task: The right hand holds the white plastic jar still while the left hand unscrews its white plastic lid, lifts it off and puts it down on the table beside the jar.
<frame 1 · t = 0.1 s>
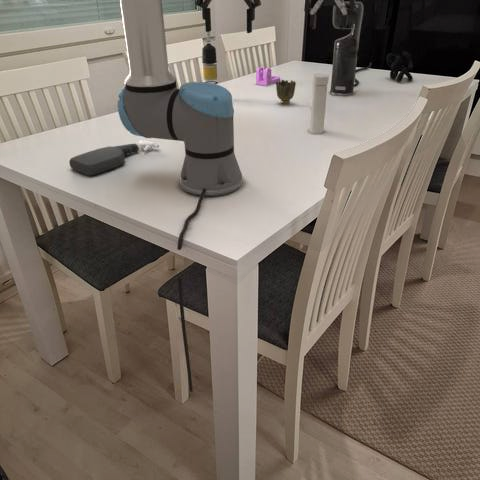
left hand: (228, 32, 139), 28 cm above the table, tool pointing down, fingers open, 13 cm apart
right hand: (327, 28, 131), 29 cm above the table, tool pointing down, fingers open, 8 cm apart
spray bottle: (117, 159, 125), on the table
squiggle: (399, 80, 200), on the table
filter: (211, 98, 179), on the table
cup: (285, 104, 170), on the table
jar: (316, 131, 143), on the table
lid: (320, 76, 134), point 17 cm above the table, screwed on, not yet turned
bracket: (269, 82, 201), on the table
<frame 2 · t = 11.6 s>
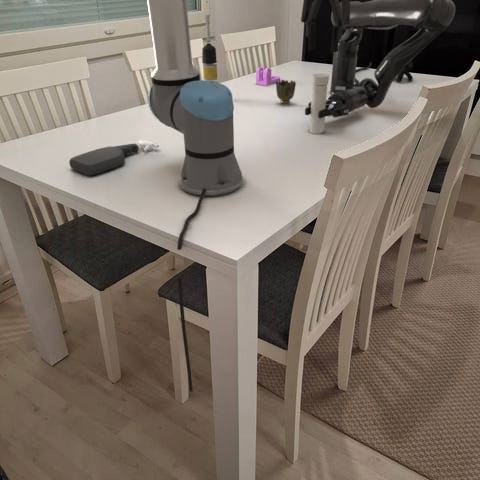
left hand: (322, 50, 130), 24 cm above the table, tool pointing down, fingers open, 7 cm apart
right hand: (312, 113, 138), 6 cm above the table, tool horizontal, fingers closed on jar, 4 cm apart
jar: (316, 131, 143), on the table, touching right hand
everything else where it was.
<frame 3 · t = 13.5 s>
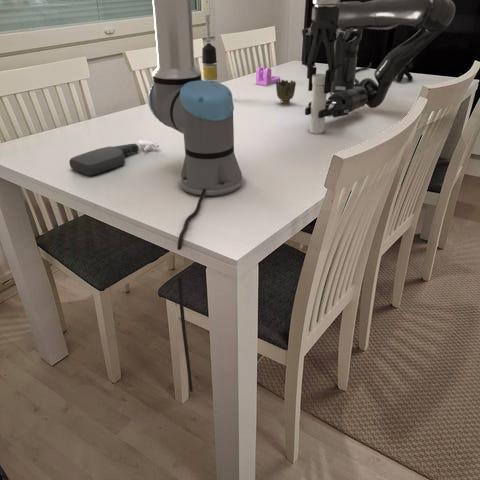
left hand: (319, 91, 136), 13 cm above the table, tool pointing down, fingers closed on lid, 5 cm apart
right hand: (312, 113, 138), 6 cm above the table, tool horizontal, fingers closed on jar, 4 cm apart
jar: (316, 131, 143), on the table, touching right hand
lid: (320, 76, 134), point 17 cm above the table, screwed on, not yet turned, touching left hand
everything else where it was.
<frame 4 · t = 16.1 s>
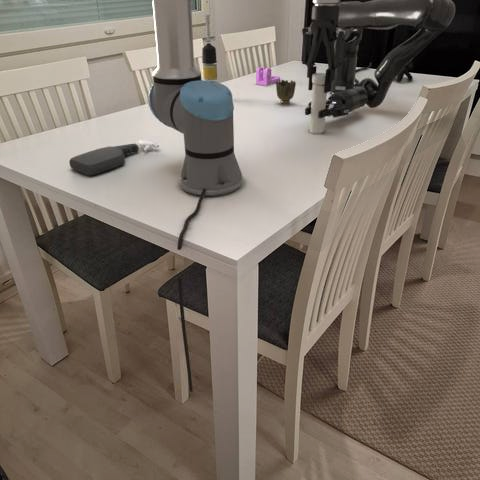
left hand: (319, 90, 136), 13 cm above the table, tool pointing down, fingers closed on lid, 5 cm apart
right hand: (312, 113, 138), 6 cm above the table, tool horizontal, fingers closed on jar, 4 cm apart
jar: (316, 131, 143), on the table, touching right hand
lid: (320, 75, 134), point 17 cm above the table, turned 68° so far, risen 0.2 cm, still on its thread, touching left hand
everything else where it was.
when the left hand's fingers open (1 cm above the table, at t = 21.2 s): lid drops 3 cm, point 2 cm above the table.
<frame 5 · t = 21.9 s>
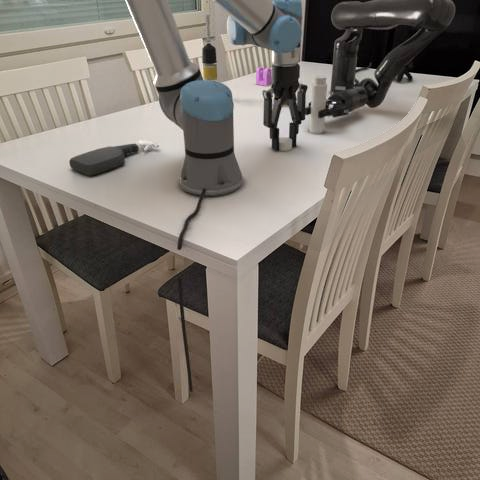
left hand: (284, 147, 131), 0 cm above the table, tool pointing down, fingers open, 5 cm apart
right hand: (312, 113, 138), 6 cm above the table, tool horizontal, fingers closed on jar, 4 cm apart
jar: (316, 131, 143), on the table, touching right hand
lid: (283, 141, 130), point 2 cm above the table, off its thread, touching left hand
everything else where it was.
when the right hand's fingers open (6 cm above the table, at t = 22.9 s): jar stays where it is, on the table.
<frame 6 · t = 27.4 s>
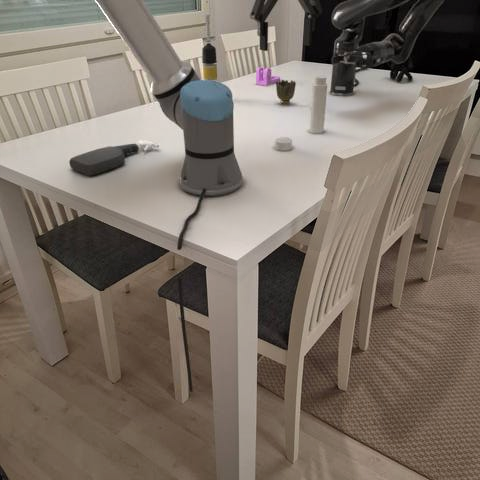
left hand: (285, 47, 116), 27 cm above the table, tool pointing down, fingers open, 13 cm apart
right hand: (344, 62, 140), 19 cm above the table, tool horizontal, fingers open, 8 cm apart
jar: (316, 131, 143), on the table
lid: (283, 141, 130), point 2 cm above the table, off its thread
everything else where it was.
at the end: lid came off its thread; lid point 2.0 cm above the table; the left hand is holding nothing; the right hand is holding nothing; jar tilted 0°; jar moved 0.1 cm from its start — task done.
